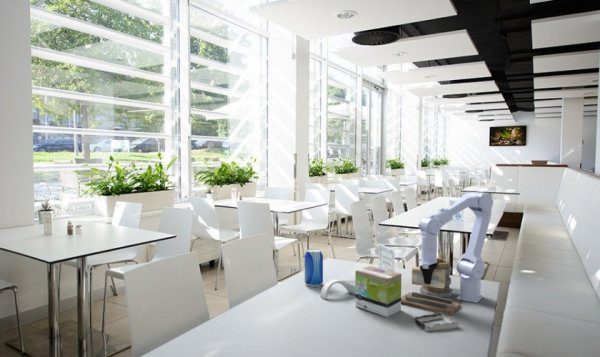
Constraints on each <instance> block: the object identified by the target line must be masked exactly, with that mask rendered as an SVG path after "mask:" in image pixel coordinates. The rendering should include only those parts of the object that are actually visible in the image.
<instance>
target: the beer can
mask: <svg viewBox="0 0 600 357" xmlns="http://www.w3.org/2000/svg"><path fill="white" fill-rule="evenodd" d="M323 282H324V254H323V253H322V250H321V249H318V248H310V249H306V252H305V254H304V283H305V285H306V286H307V287H309V286H310V287H309V288H319V287H321V286H322V285H323ZM318 286H319V287H318Z"/></svg>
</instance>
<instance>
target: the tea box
mask: <svg viewBox="0 0 600 357" xmlns="http://www.w3.org/2000/svg"><path fill="white" fill-rule="evenodd" d="M354 277H355V294H354V295H355V296H354V298H355V299H354V300H355V304H354V305H355V308H360V309H363V310H366V311H368V312H372V313H374V314H377V315H380V316H383V317H386V318H388V317H391V316H392V315H394V314H396V313H398V312H400V311H401V310H402V304H401V298H402V273H401V272H396V271H391V270H388V269H384V268H380V267H376V266H371V265H368V266H366V267H363V268H360V269H357V270H355V276H354Z"/></svg>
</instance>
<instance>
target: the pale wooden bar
mask: <svg viewBox="0 0 600 357" xmlns="http://www.w3.org/2000/svg"><path fill="white" fill-rule="evenodd" d="M411 285H416V286H421V287H422V286H429V287H436V288H444V287H445V271H444V270H436V269H434V271H433V274H432V280H431V284H430V285H429V284H425V283H424V278H423V274H422V271H421V270H420V266H413V268H412V269H411Z"/></svg>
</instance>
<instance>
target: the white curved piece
mask: <svg viewBox="0 0 600 357" xmlns="http://www.w3.org/2000/svg"><path fill="white" fill-rule="evenodd" d="M335 284H340V285H342V286H343V287H344V288H345V289H346V290H347V291H348V292H349V293H350V294H352V295H355V280H353V279H349V280H347V279H339V278H333V279H330V280H328V281H326V283H324V285H323V286H322V288H321V291H320V297H321V298H322V299H323V300H328V293H329V290H330V288H331V287H332V286H333V285H335Z"/></svg>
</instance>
